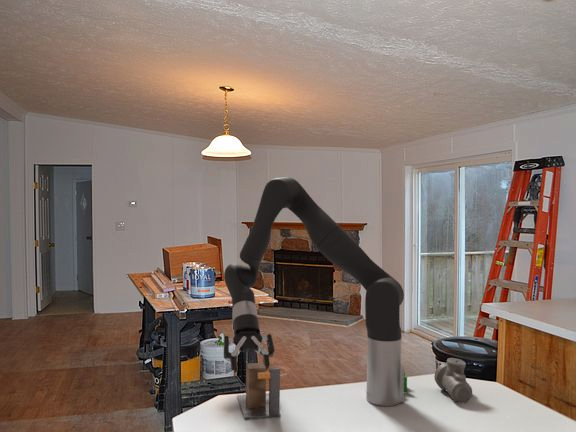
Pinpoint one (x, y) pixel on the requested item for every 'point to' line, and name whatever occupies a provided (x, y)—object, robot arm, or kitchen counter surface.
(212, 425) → the kitchen counter surface
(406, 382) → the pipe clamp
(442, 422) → the kitchen counter surface
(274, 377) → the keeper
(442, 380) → the pipe fitting
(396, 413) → the kitchen counter surface
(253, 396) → the link block
